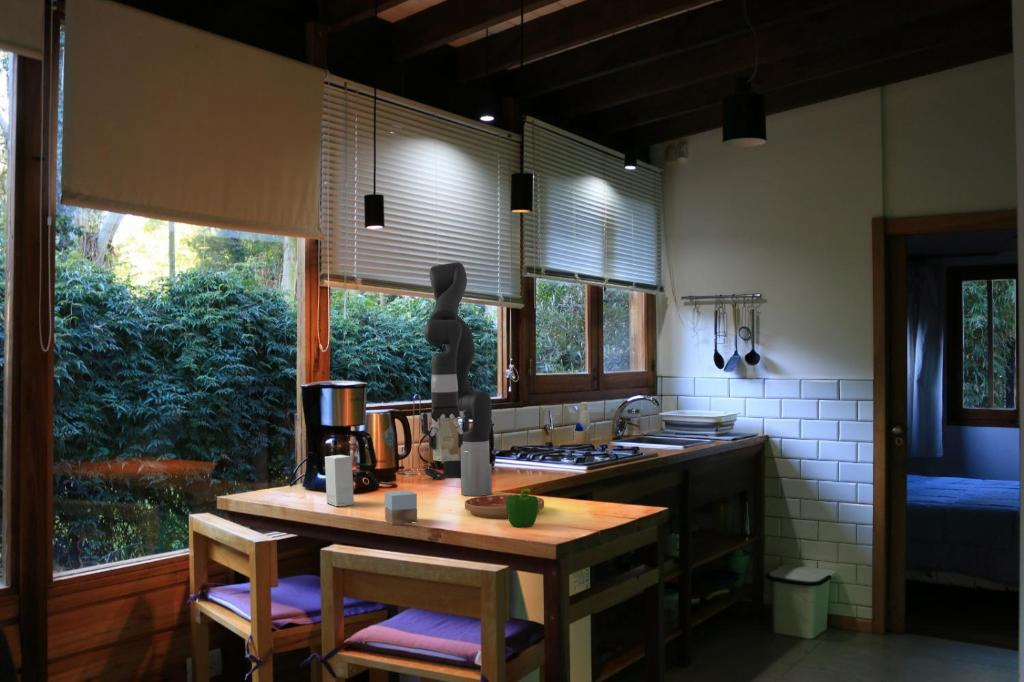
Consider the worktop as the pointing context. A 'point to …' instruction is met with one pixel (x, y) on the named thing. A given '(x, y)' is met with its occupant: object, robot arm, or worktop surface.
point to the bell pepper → (522, 509)
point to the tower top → (400, 500)
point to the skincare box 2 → (446, 441)
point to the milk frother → (446, 468)
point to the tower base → (400, 516)
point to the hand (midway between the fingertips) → (445, 448)
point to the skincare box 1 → (339, 480)
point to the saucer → (492, 506)
